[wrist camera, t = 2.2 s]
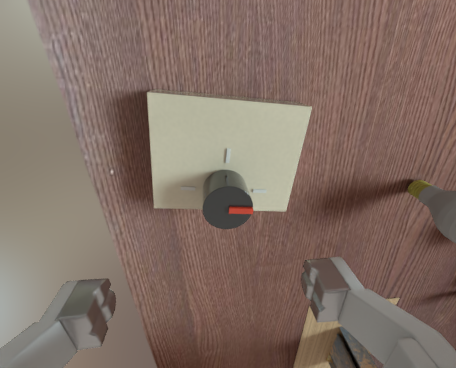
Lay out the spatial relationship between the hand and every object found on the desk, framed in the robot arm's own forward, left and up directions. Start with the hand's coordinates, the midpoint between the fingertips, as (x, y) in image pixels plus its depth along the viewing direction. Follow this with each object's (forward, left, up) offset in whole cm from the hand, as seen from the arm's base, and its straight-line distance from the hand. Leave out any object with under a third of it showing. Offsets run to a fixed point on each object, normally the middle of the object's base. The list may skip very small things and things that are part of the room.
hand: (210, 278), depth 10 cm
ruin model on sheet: (+28, -38, -16) cm, 50 cm away
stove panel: (+2, 0, -16) cm, 16 cm away
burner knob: (+2, -3, -13) cm, 14 cm away
